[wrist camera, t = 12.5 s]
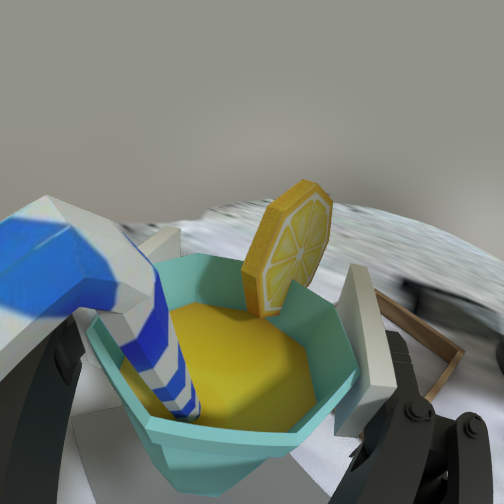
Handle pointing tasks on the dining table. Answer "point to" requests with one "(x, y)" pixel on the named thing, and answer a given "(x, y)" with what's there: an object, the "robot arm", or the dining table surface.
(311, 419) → the cup
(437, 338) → the wooden picture frame
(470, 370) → the dining table surface
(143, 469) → the board
